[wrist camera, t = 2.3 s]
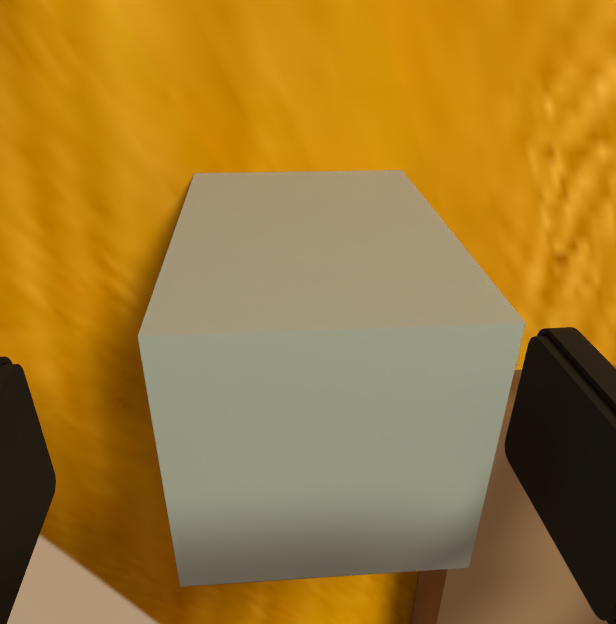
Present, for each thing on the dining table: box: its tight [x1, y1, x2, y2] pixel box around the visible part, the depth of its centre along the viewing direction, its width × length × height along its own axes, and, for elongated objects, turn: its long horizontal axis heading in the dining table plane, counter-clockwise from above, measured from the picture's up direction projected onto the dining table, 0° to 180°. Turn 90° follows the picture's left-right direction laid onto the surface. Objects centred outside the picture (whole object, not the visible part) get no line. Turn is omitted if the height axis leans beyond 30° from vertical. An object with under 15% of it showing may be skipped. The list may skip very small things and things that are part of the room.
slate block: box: [138, 170, 525, 587], centre depth 13 cm, size 6×6×8 cm
